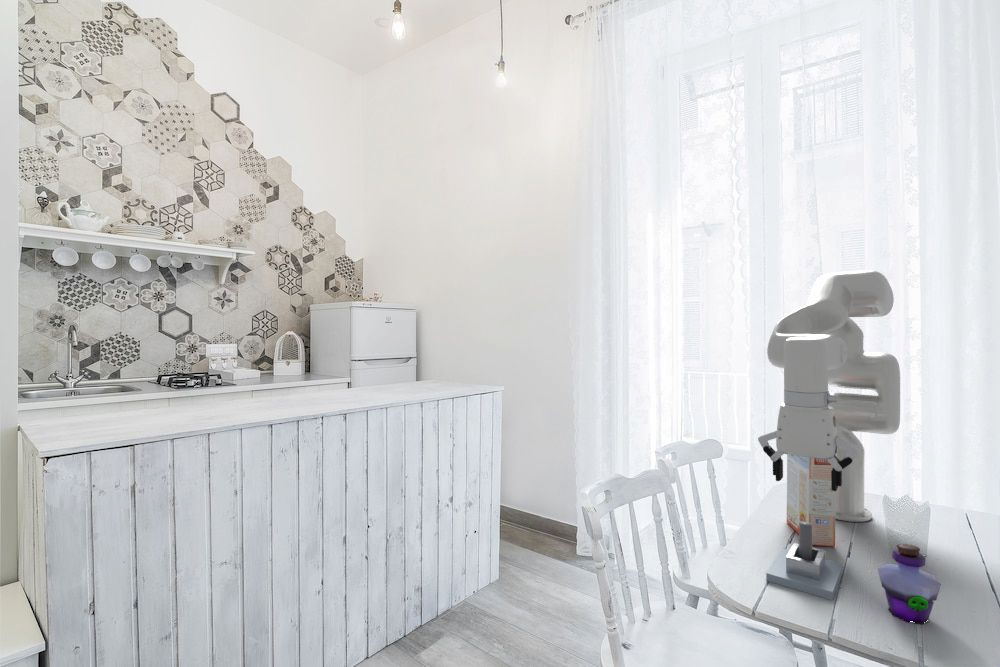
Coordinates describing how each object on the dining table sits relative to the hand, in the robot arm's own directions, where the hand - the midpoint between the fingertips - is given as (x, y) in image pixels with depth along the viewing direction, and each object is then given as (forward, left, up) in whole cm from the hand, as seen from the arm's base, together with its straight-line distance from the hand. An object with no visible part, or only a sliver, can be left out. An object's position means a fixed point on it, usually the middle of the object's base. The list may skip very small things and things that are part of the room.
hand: (806, 484), depth 101 cm
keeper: (+1, 0, -18) cm, 18 cm away
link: (+1, 0, -17) cm, 17 cm away
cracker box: (-22, -3, -19) cm, 29 cm away
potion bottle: (+5, +16, -19) cm, 25 cm away
